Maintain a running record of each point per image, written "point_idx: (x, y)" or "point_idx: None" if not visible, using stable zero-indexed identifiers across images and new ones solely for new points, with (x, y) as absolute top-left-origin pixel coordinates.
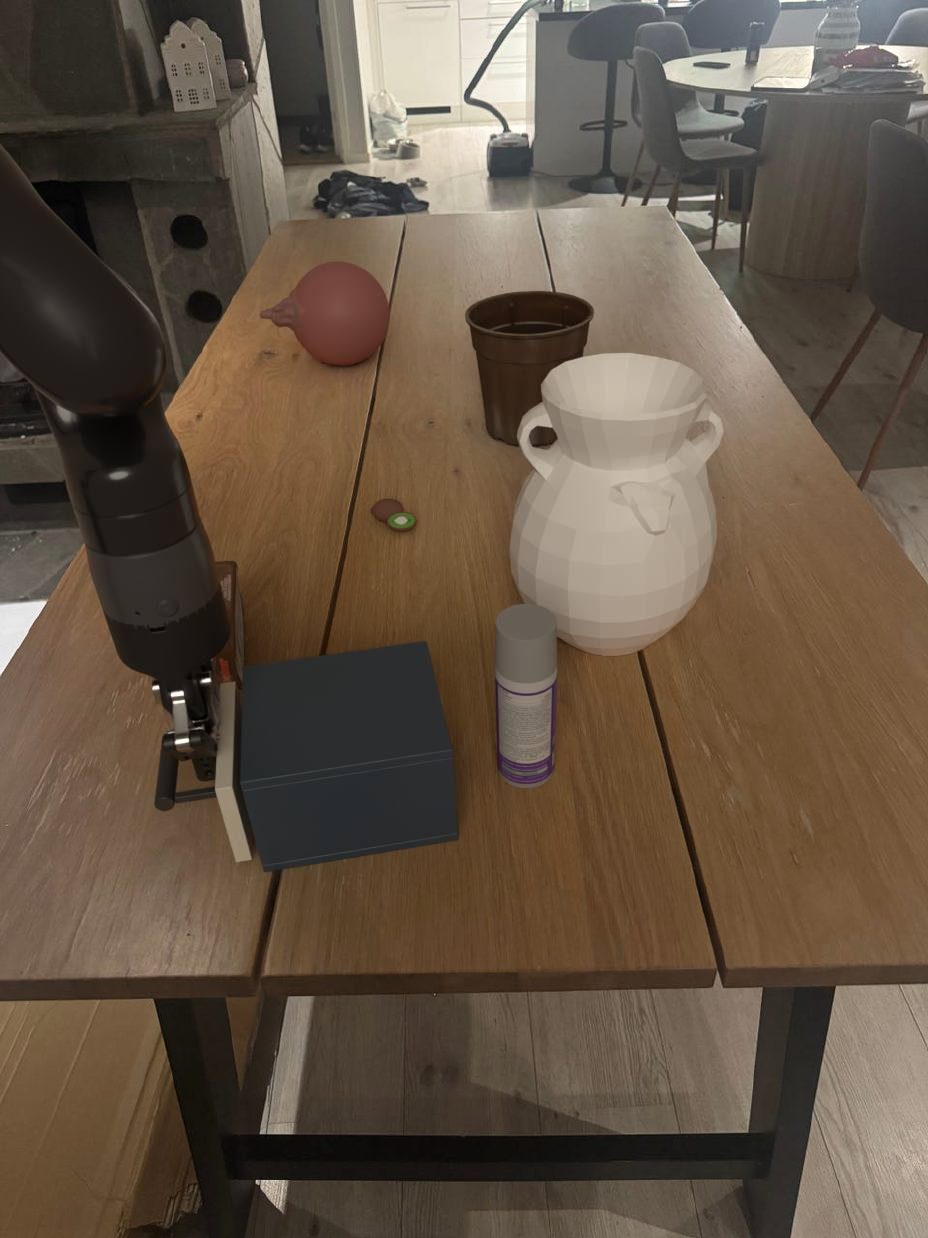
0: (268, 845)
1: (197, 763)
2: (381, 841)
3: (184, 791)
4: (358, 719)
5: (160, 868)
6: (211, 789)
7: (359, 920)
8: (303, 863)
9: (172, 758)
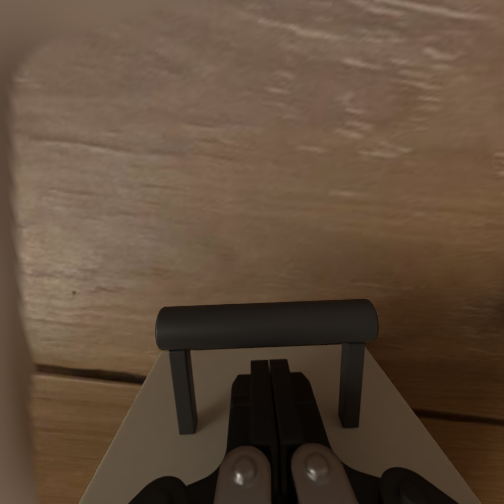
0: None
1: (229, 423)
2: None
3: (186, 369)
4: None
5: (180, 246)
6: (184, 417)
7: (90, 456)
8: None
9: (284, 344)
